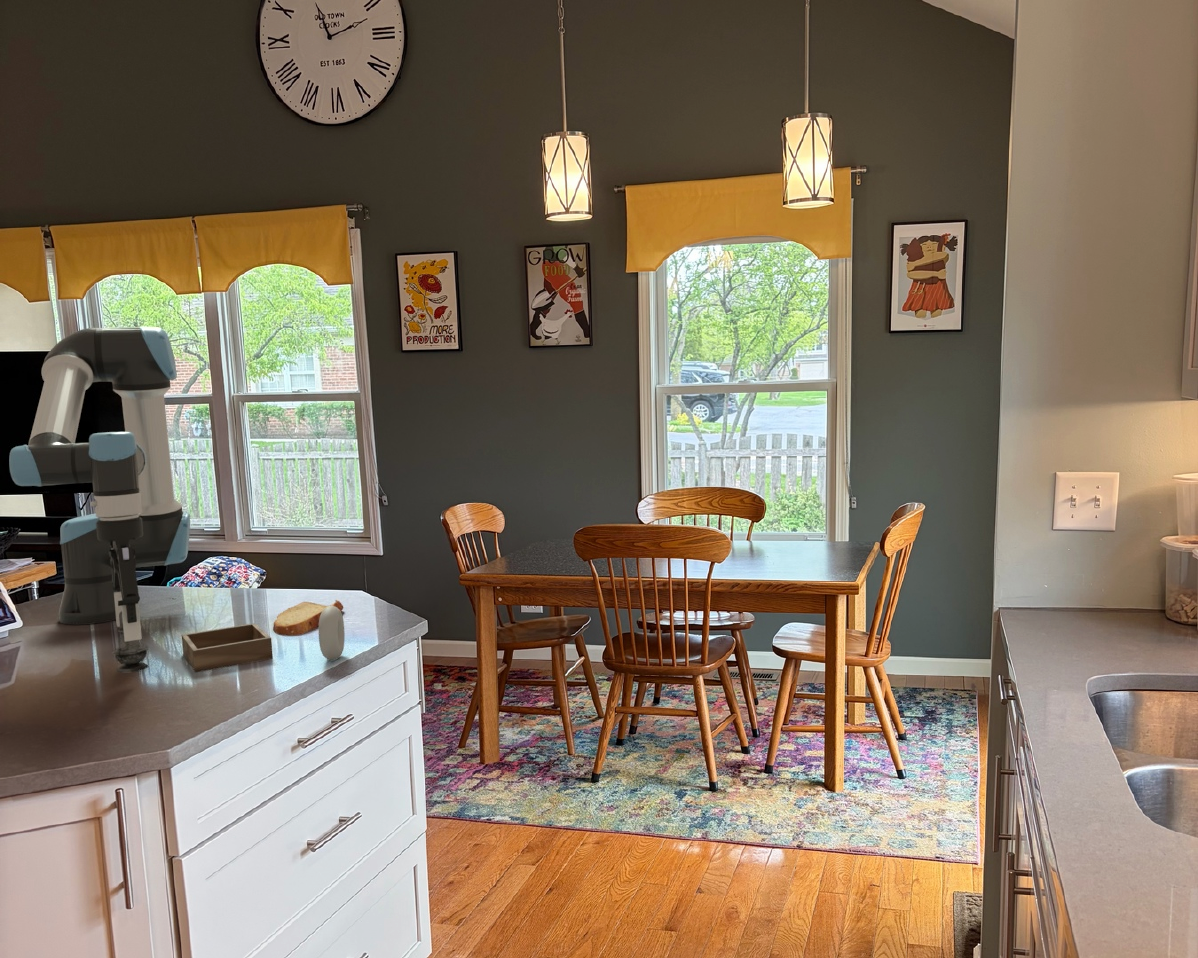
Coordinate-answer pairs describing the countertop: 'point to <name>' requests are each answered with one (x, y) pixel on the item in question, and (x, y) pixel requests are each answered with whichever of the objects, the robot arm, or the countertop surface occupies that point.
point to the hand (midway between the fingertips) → (128, 632)
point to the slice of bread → (300, 618)
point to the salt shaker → (130, 653)
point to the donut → (331, 633)
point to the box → (226, 647)
